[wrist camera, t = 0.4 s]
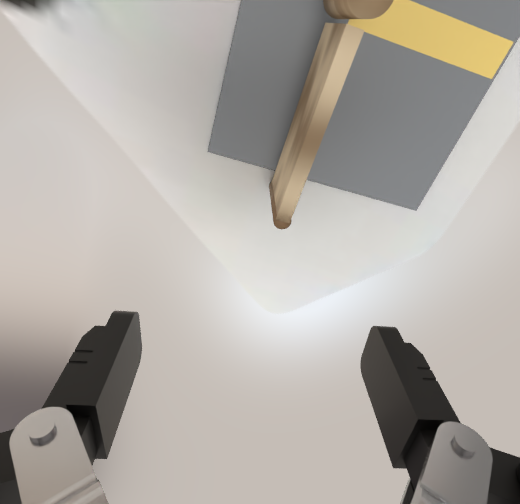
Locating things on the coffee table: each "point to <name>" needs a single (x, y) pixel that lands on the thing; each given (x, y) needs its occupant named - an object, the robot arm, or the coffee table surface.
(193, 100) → the coffee table surface
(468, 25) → the card
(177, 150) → the coffee table surface
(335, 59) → the fence panel
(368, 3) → the wooden toy fence
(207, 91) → the coffee table surface
